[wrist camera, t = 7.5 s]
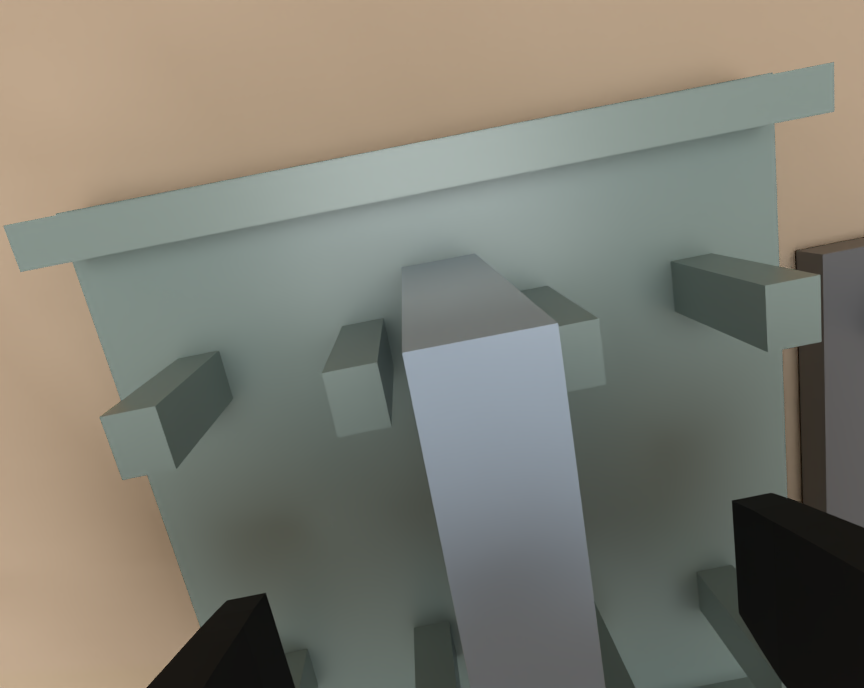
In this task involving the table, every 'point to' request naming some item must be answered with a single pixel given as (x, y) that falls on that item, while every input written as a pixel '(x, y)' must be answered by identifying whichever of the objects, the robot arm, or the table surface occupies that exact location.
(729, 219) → the rack
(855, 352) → the stand
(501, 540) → the long pale grey plank
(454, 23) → the table surface
